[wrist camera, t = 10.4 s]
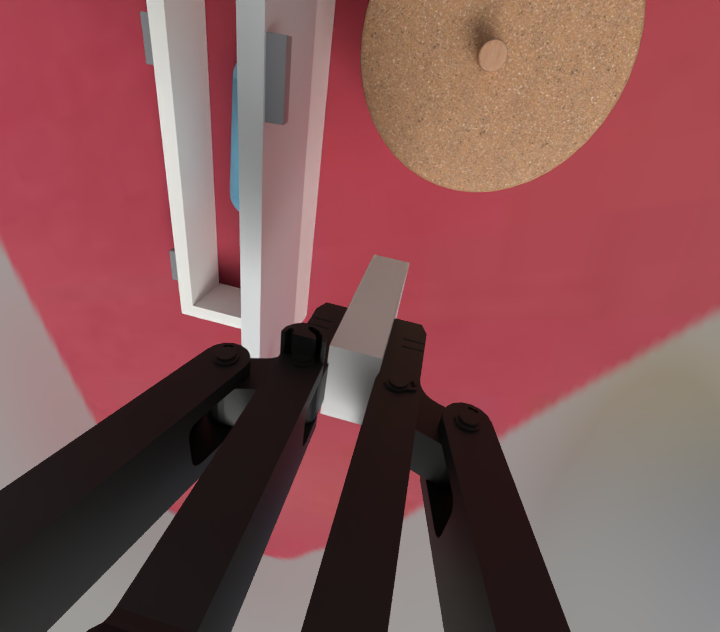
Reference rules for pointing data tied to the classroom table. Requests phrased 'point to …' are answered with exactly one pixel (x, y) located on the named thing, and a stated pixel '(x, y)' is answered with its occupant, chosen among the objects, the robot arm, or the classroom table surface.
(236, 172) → the blue pill shape
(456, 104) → the lidded jar
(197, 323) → the classroom table surface
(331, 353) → the robot arm
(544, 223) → the classroom table surface
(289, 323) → the cover
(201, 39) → the white latched case
